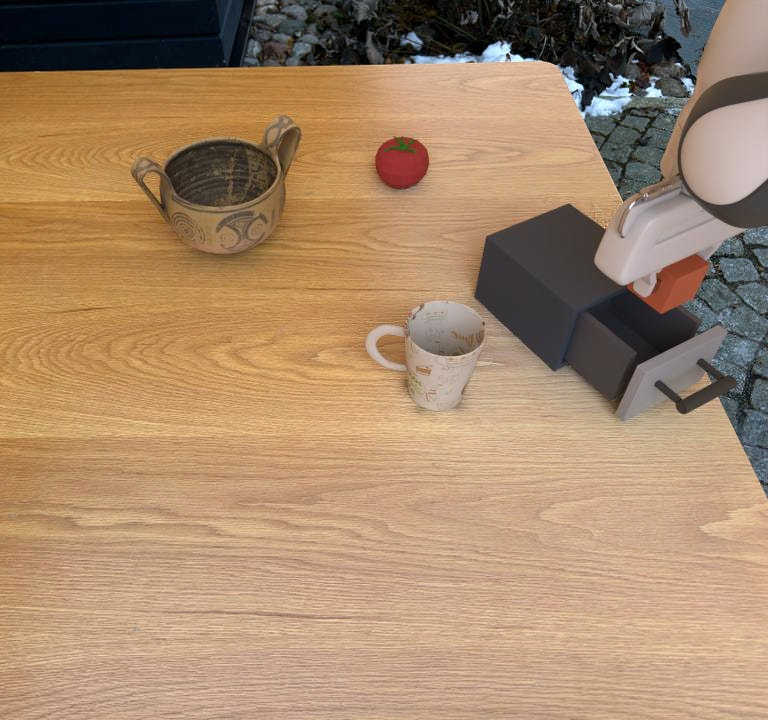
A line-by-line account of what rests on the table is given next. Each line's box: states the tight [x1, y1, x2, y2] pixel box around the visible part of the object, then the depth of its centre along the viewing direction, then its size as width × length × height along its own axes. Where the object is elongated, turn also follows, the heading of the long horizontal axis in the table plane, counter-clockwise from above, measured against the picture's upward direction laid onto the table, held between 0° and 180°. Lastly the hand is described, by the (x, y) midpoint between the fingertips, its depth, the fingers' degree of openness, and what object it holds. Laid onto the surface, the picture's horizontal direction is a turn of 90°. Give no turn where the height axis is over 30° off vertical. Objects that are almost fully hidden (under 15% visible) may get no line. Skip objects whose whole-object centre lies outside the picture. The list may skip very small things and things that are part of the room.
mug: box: [364, 299, 488, 412], centre depth 80 cm, size 8×13×10 cm, turn 71°
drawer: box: [563, 290, 738, 423], centre depth 80 cm, size 18×11×8 cm, turn 28°
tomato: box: [374, 135, 430, 189], centre depth 109 cm, size 8×8×8 cm
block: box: [627, 253, 711, 314], centre depth 73 cm, size 4×4×4 cm
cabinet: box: [473, 203, 629, 372], centre depth 88 cm, size 15×13×10 cm
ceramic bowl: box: [130, 113, 302, 255], centre depth 98 cm, size 22×17×15 cm
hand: (665, 281), depth 74 cm, fingers closed on block, 4 cm apart
